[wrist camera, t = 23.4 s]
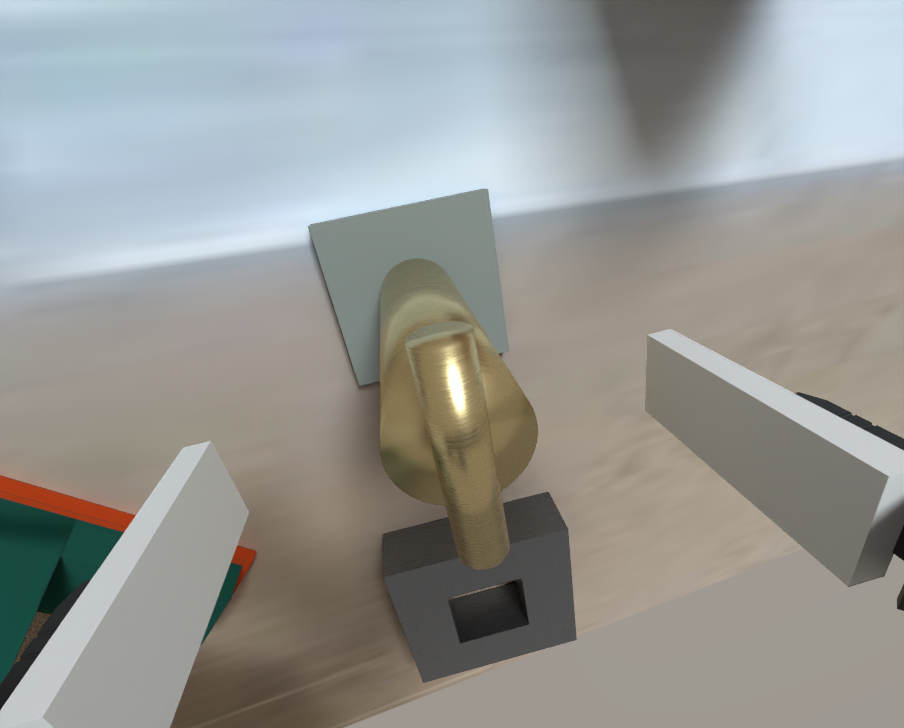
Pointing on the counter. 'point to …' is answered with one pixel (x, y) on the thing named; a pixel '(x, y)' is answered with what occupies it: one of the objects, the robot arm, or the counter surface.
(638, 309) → the counter surface
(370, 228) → the pad
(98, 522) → the power tool
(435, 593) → the chuck block
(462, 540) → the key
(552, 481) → the counter surface
